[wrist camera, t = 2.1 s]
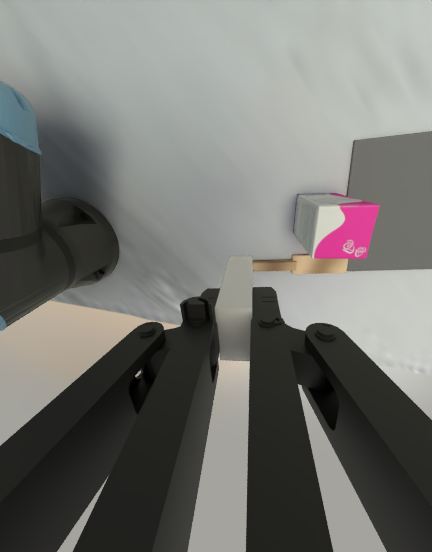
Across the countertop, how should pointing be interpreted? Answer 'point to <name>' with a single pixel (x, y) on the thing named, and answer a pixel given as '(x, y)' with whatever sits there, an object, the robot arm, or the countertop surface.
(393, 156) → the mat
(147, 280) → the countertop surface
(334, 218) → the supplement box
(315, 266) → the turner
